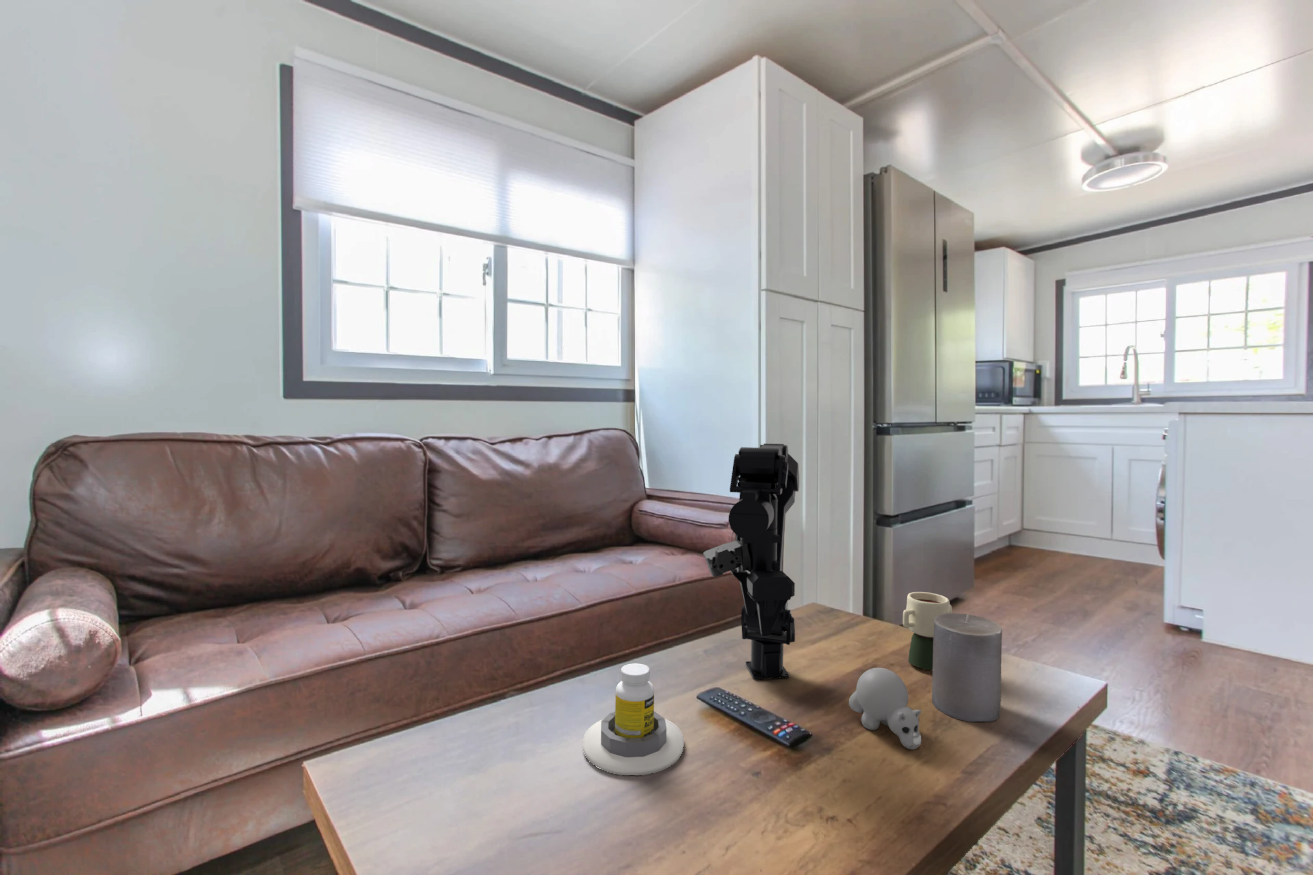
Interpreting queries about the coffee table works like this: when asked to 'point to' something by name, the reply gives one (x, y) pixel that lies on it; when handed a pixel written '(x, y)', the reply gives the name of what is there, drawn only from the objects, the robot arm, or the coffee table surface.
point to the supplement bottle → (634, 702)
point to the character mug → (923, 625)
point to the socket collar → (633, 747)
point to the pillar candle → (967, 667)
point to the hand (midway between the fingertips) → (757, 624)
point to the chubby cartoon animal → (886, 705)
